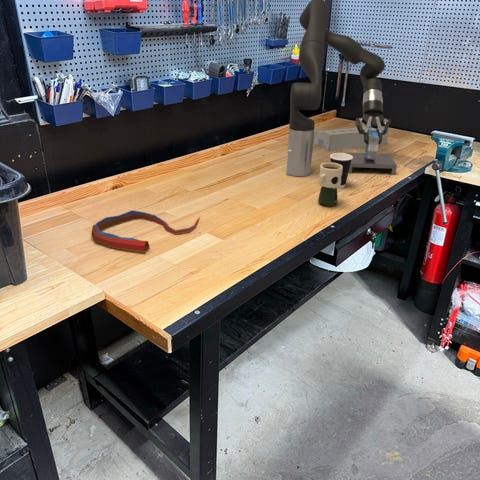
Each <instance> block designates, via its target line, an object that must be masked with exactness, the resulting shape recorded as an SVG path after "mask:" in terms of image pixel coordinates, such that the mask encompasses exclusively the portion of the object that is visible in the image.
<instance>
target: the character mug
mask: <svg viewBox="0 0 480 480" xmlns="http://www.w3.org/2000/svg"><path fill="white" fill-rule="evenodd" d="M342 170H343V166H342V165H340V164H338V163H331V161H329V162H322V163H321V164H320V165H319V173H318V174H319V176H318V177H319V178H318V184H319V186H321V187H320V190H319V193H318V199H317V202H318V203H320V204H321V205H324V206H326V207H327V206H329V207H330V206H331V207H332V206H335V205H338V188H337V187H339V186H340V185H341V176H342Z"/></svg>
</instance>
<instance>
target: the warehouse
mask: <svg viewBox="0 0 480 480" xmlns="http://www.w3.org/2000/svg"><path fill="white" fill-rule="evenodd" d="M362 127H363V129H364V130H365V128H366V126H362ZM369 129H370V128H369ZM371 130H373V131H374V132H376V133H377V131H376V129H375V128H371ZM382 130H384V128H382ZM388 133H389V129H388V130H387V132H386V134H385V135H382V142H381V143H380V144H378V147H381V146H386V145H387V140H388ZM377 135H378V133H377ZM313 144H315V145H317V146H320V147H321V148H322V149H325V150H326V151H328V152H334V151H342V150H343V151H344V150H352V149H362V148H366V142H364V135H363V134H359V132H358V129H357V127H349V128H336V129H326V130H325V129H324V130H318V131H317V130H314V138H313Z"/></svg>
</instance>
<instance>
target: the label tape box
mask: <svg viewBox="0 0 480 480" xmlns="http://www.w3.org/2000/svg"><path fill="white" fill-rule="evenodd" d="M369 128H370V129H369V130H368V133H369V141H368V144H366V147H365V150H364V151H365V152H364V153H366V157H367V159H377V153H378V149H379V146H378V144H379V137H378V135H377V133H376V132H374V131H373V130H371V125H370V127H369Z"/></svg>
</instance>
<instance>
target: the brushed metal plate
mask: <svg viewBox="0 0 480 480" xmlns="http://www.w3.org/2000/svg"><path fill="white" fill-rule="evenodd" d="M344 153H346V154H349V155H352V156H353V159H352V160H351V165H350V169H349V173H348V174H352V171H353V168H364V169H365V168H369V169H370V168H371V169H387V170H388V172H389V174H390V175H391V176H395V175H396V174H397V173H396V172H397V166H398V165H397V162H396V161H395V160H394V158H393V156H392V155H391V154H390V153H380V152H379V153H378V152H377V159H367V157H366V153H365V152H349V151H348V152H347V151H346V152H344Z"/></svg>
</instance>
